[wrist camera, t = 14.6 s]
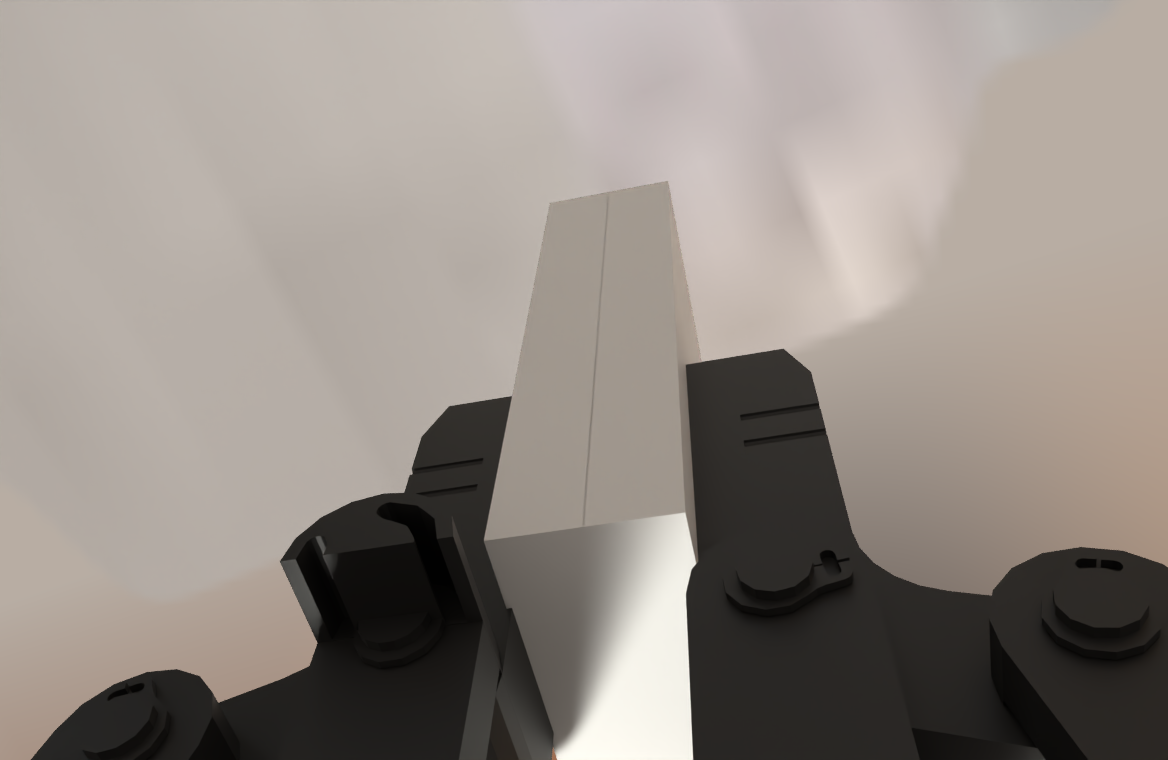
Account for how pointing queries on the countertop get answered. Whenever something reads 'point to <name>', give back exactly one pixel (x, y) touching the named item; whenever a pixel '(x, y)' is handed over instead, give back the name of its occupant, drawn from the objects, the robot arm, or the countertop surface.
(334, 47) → the countertop surface
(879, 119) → the countertop surface
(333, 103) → the countertop surface
